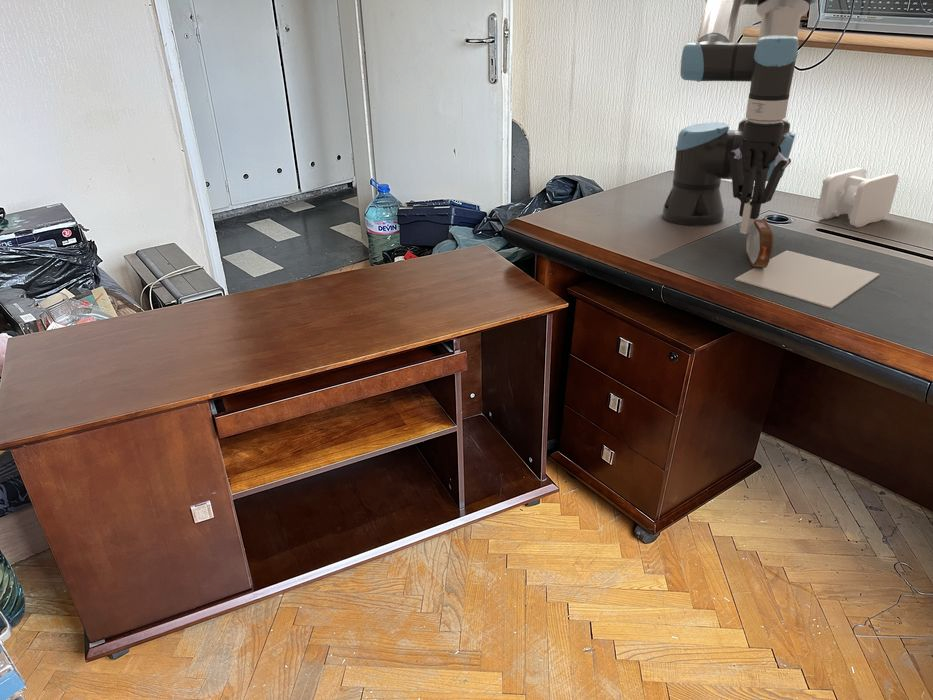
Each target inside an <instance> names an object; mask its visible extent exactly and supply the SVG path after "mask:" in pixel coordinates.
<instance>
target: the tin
mask: <svg viewBox="0 0 933 700" xmlns="http://www.w3.org/2000/svg"><path fill="white" fill-rule="evenodd" d="M773 245H774V233H773V230H772V228H771V226H770V225H769V223H768V221H767V220H766V219H765V218H764V219H759V218H756V219H755V220H754V226H753V231H752V232H750V233H748V234H747V237H746V240H745V253H746V255H747V259H748V260H749V262H750V264H751V266H752V267H753V268H755V267H762V268H766V267H767V265H768V263H769V261H770V259H771V257H772V252H773Z"/></svg>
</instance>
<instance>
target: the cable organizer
mask: <svg viewBox="0 0 933 700" xmlns="http://www.w3.org/2000/svg"><path fill="white" fill-rule="evenodd" d="M867 173H868V172H867V169H865V168H863V167H853V168H849V169H845V170H842V171H837V172H835V173H830V174H829V175H827V176H826V177H825V178H824V179H822V186H821V191H820V192H821V193H820V197H819V200H818V205H817V210H816V216H817V217H818V218H822V219H824V220H829V218H830V219H832V218H835V217H837V218H840V217H839V216H840V215H846V214H847V215H848V217H847V220H848V221H849V224H850V225H851V226H853V227H855V228H857V229H858V227H859V228H861V227H864V226H866V225H867V224H871V223H876V222H880V221H882V220H884V219H885V218H886V217H887V216H889V214H890V212H891V210H892V205H893V202H894V199H895V198H894V197H895V195H896V194H895V193H896V190H897V186H898V183H899V180H900V179H899V178H900V177H899V175H898V174H897V173H891V172H890V173H886V174H883V175H879V176H876V177H872V178H867Z"/></svg>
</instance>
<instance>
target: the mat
mask: <svg viewBox="0 0 933 700" xmlns="http://www.w3.org/2000/svg"><path fill="white" fill-rule="evenodd" d="M878 277H880V273H878V272H874V271H870V270H865V269H860V268H859V267H854V266H850V265H845V264H842V263H838V262H836V261H835V262H834V261H830V260H826V259H822V258H819V257H815V256H811V255H807V254H802V253H799V252H795V251H791V250H788V249H787V250H785V251H783V252H780V253H779V254H777V255H775V256H774V257H772V258H771V257H770V261H769V263H768V265H767V267H766V268H762V267H753V268H752V269H749V270H748V271H746V272H744V273H742V274H740V275H738V276H737V277H735V278H734V281H738V282H742V283H745V284H748V285H751V286H753V287H759V288H761V289H763V290H768V291H771V292H773V293H774V292H775V293H779V294H782V295H784V296H787V297H791V298H795V299H798V300H801V301H805V302H807V303H811V304H815V305H818V306H821V307H824V308H828V309H833V308H835V307H836V306H837V305H839V304H840V303H842V302H844V301H845V300H846V299H847V298H849V297H850V296H852V295H853V294H855V293H856V292H857V291H859V290H860V289H862V288H864V287H865V286H866V285H868V284H869V283H871V282H872V281H874V280H875V279H876V278H878Z"/></svg>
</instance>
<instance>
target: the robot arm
mask: <svg viewBox="0 0 933 700" xmlns="http://www.w3.org/2000/svg"><path fill="white" fill-rule="evenodd" d="M705 3H706V4H705V7H704V12H703V16H702V19H701V23H700V27H699V30H698V34H697V38H696V41H695V42H689V43H686V44H685V45H684V46H683V48H682V49H683V50H682V53H681V59H680V77H681V79H682V80H684V81H690V82H691V81H692V82H699V83H700V82H750V86H749V93H748V97H747V98H748V99H747V106H746V112H745V118H743V119H742V120H741V121H740V122H738V127H737V130H735V129H734V130H733V129H732V130H731V129H730V127H729V124H728V123H726V122H717V121H715V122H714V121H713V122H703V123H697V124H693V125H689V126H685V127H684V128H682V129H681V130H680V131H679V133H678V135H677V136H678V137H677V141H676V142H677V143H676V146H675V151H676V152H675V160H674V170H673V178H672V186H671V189H670V191H669V193H668V195H667V198H666V200H665V203H664V205H663V208H662V218H664V219H665V220H666V221H668V222H670V223H674V224H678V225H683V226H691V227H693V226H695V227H697V226H710V225H715V224H718V223H720V222H721V221H723V218H724V212H725V210H724V209H725V208H724V204H723V203H724V202H723V199H722V193H721V181H722V180H731V181H732V182H731V184H732V185H731V186H732V197H733V198H735V199H738V200H739V201H740V208H739V217H741V223H740V229H739V233H740V234H743V235H748V233H750V232H752V231H753V226H754V220H755V219H759V217H760V212H761V206H762V204H767V203H769V202H770V201H772V199H773V197H774V194H775V192H776V189H777V187H778V185H779V183H780V181H781V179H782V177H783V175H784V173H785V170H786V168H787V167H788V166H790V164H791V163H792V159H791V158H790V155H791V154H790V153H791V152H792V148H793V144H794V141H795V137H796V133H795V132H793V131H790V128H791V123H790V122H789V121H788V120H787V119H786V118H787V112H788V106H789V105H788V104H789V99H790V93H791V88H792V81H793V77H794V73H795V72H794V71H795V67H796V61H797V58H798V49H799V39H798V37H799V31H800V24H801V18H802V17H803V16H804V15H805V14H807V13H808V12H809V10H810V5H812V4H815V3H817V0H705ZM744 5H746V6H747V5H749V6H751V5H757V6H756V13H757V15H758V16H759V17H760V18H761V22H760V29H759V35H758V39H757V42H734V41H733V40H734V36H735V30H736V27H737V22H738V17H739V12H740V9H741V7H742V6H744Z"/></svg>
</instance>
